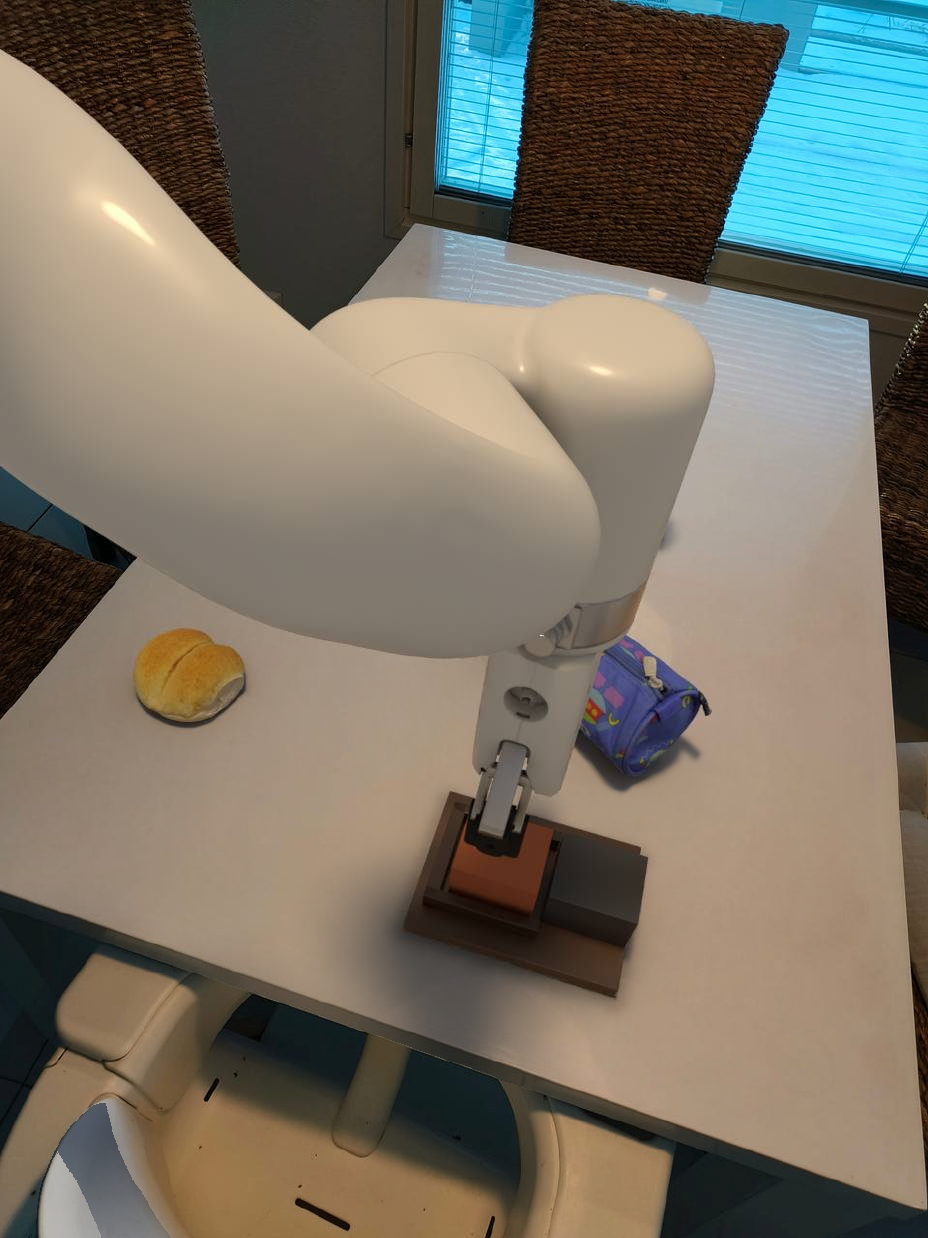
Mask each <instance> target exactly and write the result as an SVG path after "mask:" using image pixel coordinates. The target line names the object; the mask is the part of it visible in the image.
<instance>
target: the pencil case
mask: <svg viewBox="0 0 928 1238" xmlns="http://www.w3.org/2000/svg"><path fill="white" fill-rule="evenodd" d="M701 706H702V707H701ZM701 708H702V711H703V713H704V717H708V716H710V715H711V714H712V712H713V710H712V709H711V707H710V706H709V702H708V700H707V698H706V697H705V695H704V693H703V692H701V691H700V690H699V689H698V688H697V687H696V686H695V685H694V684H693V683H692V682H690V681H689V680H688V679H686V678H684V677H683V676H681V675H680V674H679V673H678V672H677V671H675V670H674V669H673V668H672V667H671V666H669V665H668V664H667V663H666V662H665V661H664V660H662V659H661V658H659V657H658V656H656V655H654V654H653V653H652V652H651V651H649V649H647V648H646V647H645V646H643V645H642V644H641V643H640V642H638V641H637V640H635V639H633V638H631V637H630V636H629V635H627V634H626V635H625V636H624V637H623V638H622V639H621V640H620V641H619V642H618V643H616V644H615V645H614V646H612V647H610V648H608V649H606V650H604V651H603V652H602V656H601V659H600V663H599V667H598V670H597V674H596V677H595V680H594V684H593V687H592V690H591V693H590V697H589V700H588V703H587V706H586V709H585V712H584V715H583V719H582V722H581V725H580V728H579V731H580V732H581V733H582V734H584V736H585V737H586V738H588V739H589V740H590V742H592V743H593V744H594V745H595V747H597V748H598V749H601V750H602V752H603V754H604V755H605V756H606V757H607V758H608V759H609V760H611V761H612V763H613V764H614V765H615V766H616V767H617V769H618V770H619V772H620V773H622V774H624V775H627V776H639V775H641V774H643V773H645V772H647V771H648V770H649V769H650V768H652V767H653V765H654V764H655V763H657V761H658V760H659V759H660V758H661V756H662V755H663V754H664V753H666V752H667V751H668V750H669V749H670V748H672V746H674V745H675V743H677V741H678V740H679V739H680V737H681V736H682V735H683V733H684V732H685V731H687V729H688V728H689V726H690V725H691V724H692V723H693V721H694V720H695V719H696V718H697V717H696V716H697V715H698V713H699V711H700V709H701Z"/></svg>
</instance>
